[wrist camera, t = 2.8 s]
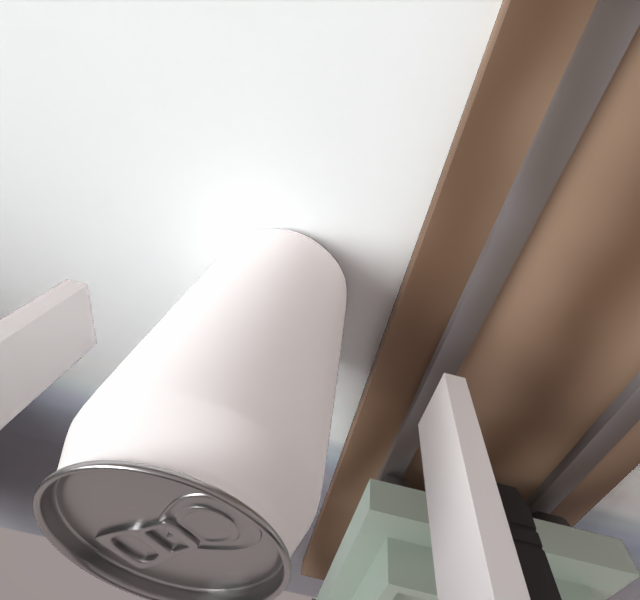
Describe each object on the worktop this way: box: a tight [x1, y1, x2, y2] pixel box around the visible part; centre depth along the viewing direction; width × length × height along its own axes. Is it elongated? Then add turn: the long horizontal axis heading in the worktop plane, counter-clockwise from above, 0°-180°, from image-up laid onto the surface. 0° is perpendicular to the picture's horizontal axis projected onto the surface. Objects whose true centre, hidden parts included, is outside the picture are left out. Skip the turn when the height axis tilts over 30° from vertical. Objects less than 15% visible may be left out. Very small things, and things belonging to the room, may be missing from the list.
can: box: [33, 229, 347, 600], centre depth 13 cm, size 6×6×12 cm
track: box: [301, 0, 640, 580], centre depth 19 cm, size 15×41×3 cm, turn 169°
